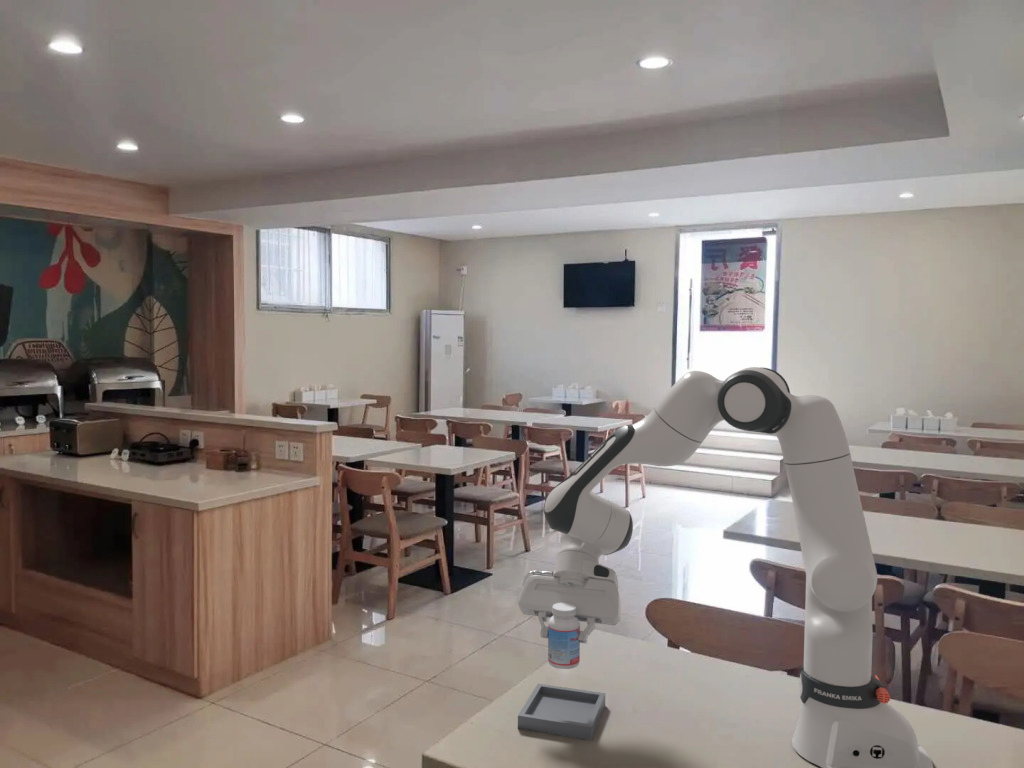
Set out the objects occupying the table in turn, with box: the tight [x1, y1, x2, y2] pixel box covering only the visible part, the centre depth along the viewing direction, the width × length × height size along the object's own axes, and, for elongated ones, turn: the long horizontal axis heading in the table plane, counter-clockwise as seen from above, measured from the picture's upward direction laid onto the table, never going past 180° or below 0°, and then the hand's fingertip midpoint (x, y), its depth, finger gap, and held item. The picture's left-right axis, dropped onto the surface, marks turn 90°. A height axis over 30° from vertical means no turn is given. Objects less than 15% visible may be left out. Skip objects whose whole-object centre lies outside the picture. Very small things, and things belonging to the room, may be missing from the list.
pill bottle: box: [547, 603, 581, 670], centre depth 146 cm, size 6×6×11 cm
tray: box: [517, 683, 606, 741], centre depth 147 cm, size 14×14×2 cm
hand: (563, 639), depth 146 cm, fingers closed on pill bottle, 6 cm apart
